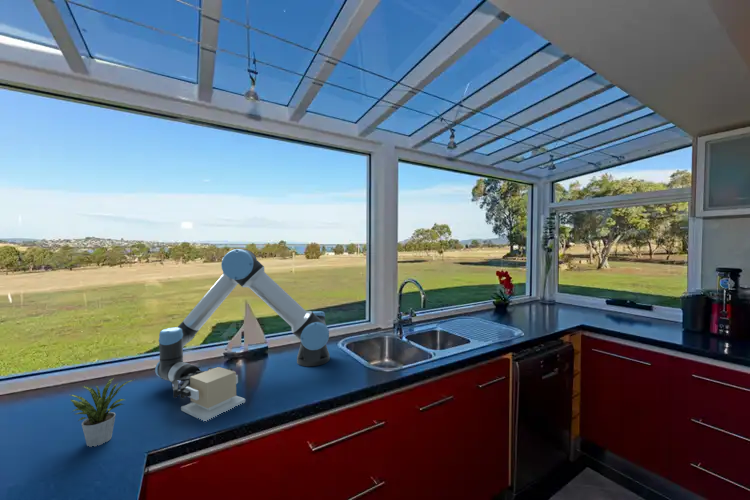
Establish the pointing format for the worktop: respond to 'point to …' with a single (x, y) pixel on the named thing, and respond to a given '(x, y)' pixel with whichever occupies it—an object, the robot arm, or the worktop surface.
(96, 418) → the house plant
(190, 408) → the white serrated base block
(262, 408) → the worktop surface
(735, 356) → the worktop surface
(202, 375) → the beige cubic block
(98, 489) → the worktop surface
